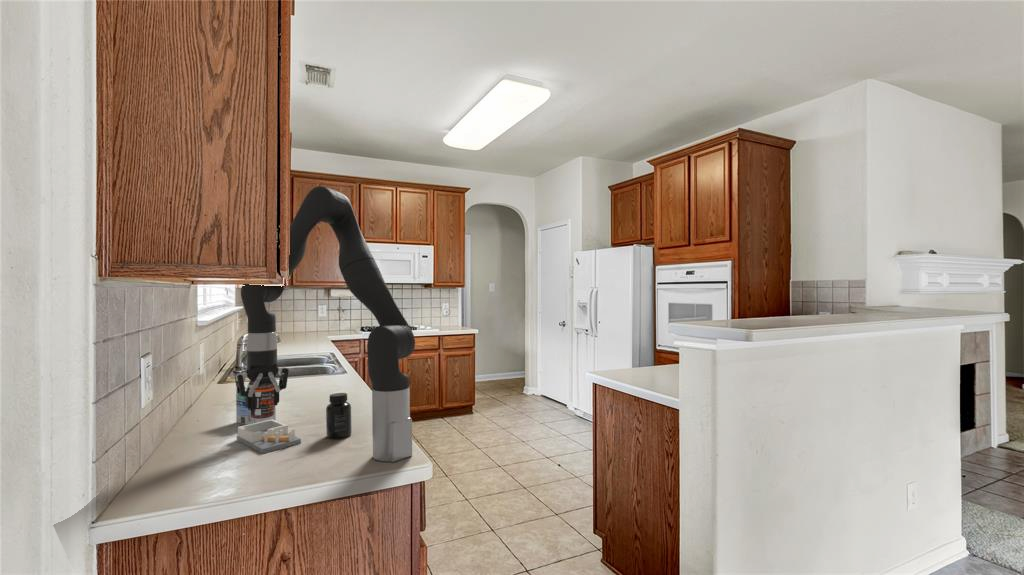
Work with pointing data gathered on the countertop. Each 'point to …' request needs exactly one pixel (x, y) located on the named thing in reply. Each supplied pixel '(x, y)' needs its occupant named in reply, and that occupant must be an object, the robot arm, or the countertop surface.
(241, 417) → the light bulb box
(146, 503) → the countertop surface
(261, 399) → the supplement bottle
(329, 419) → the supplement bottle
